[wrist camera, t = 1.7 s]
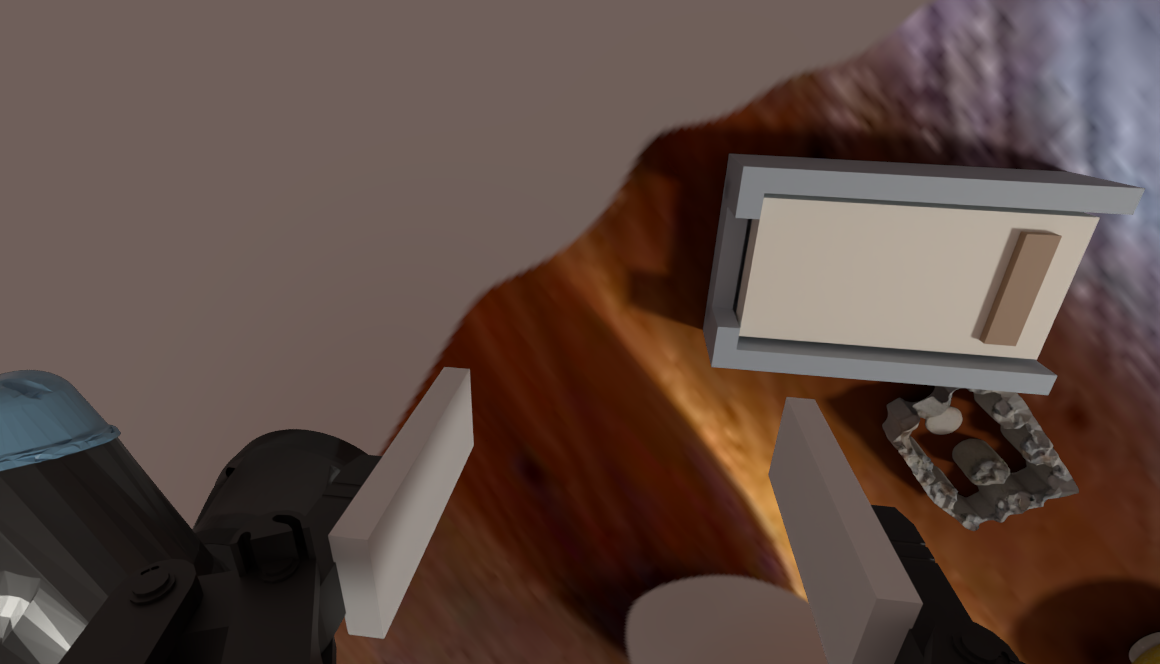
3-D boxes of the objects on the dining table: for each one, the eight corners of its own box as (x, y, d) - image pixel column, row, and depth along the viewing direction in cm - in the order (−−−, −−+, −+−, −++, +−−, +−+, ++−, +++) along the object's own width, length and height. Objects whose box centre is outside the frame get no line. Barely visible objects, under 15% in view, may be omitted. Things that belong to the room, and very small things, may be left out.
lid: (734, 323, 33) (740, 339, 31) (757, 191, 29) (765, 199, 27) (1016, 345, 32) (1042, 363, 29) (1073, 209, 28) (1107, 219, 26)
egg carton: (863, 408, 37) (887, 444, 33) (975, 347, 34) (1015, 379, 31) (940, 508, 40) (970, 552, 36) (1048, 459, 37) (1093, 501, 33)
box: (702, 330, 36) (711, 366, 31) (729, 153, 31) (743, 166, 26) (994, 353, 34) (1048, 395, 30) (1068, 171, 29) (1145, 188, 25)
